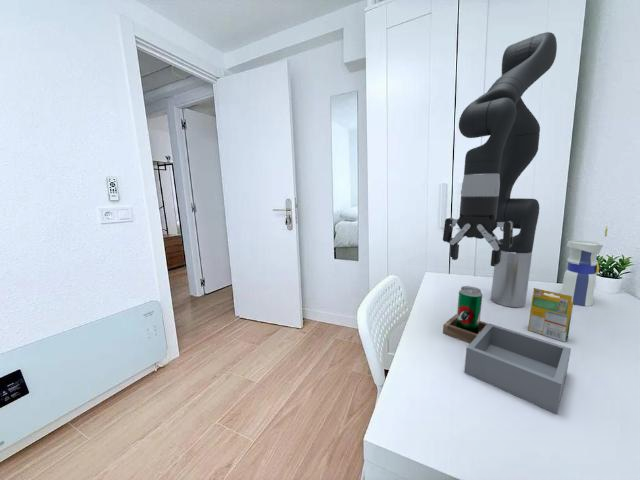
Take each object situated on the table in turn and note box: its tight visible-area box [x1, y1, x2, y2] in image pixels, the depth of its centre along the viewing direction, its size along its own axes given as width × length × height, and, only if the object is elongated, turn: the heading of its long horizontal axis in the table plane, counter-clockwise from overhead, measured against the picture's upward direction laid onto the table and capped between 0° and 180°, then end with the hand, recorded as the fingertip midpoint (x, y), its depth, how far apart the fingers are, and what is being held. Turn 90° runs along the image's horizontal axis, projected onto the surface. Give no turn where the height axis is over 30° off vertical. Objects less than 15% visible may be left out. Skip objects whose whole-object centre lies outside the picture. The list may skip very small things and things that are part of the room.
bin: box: [464, 323, 572, 415], centre depth 52 cm, size 14×14×6 cm
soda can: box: [456, 285, 483, 334], centre depth 66 cm, size 5×5×12 cm
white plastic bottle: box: [560, 225, 608, 307], centre depth 83 cm, size 8×9×25 cm
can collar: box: [442, 313, 489, 344], centre depth 67 cm, size 8×8×2 cm
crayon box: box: [527, 287, 574, 343], centre depth 65 cm, size 7×3×12 cm, turn 37°
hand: (473, 262), depth 64 cm, fingers open, 8 cm apart
